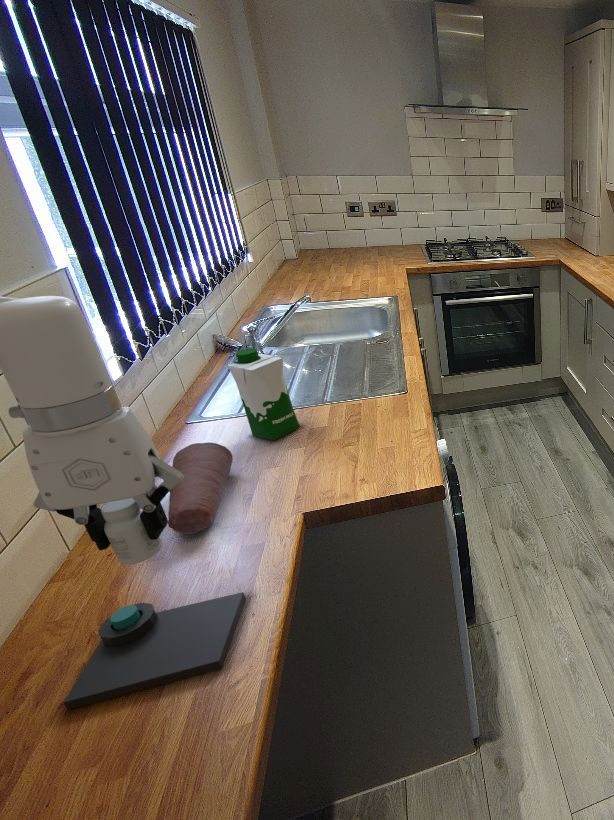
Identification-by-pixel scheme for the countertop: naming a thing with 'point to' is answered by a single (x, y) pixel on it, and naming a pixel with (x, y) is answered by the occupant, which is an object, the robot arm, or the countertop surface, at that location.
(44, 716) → the countertop surface
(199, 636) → the scale
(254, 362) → the milk carton
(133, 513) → the pill bottle
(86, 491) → the robot arm
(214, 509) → the food
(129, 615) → the button
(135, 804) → the countertop surface
